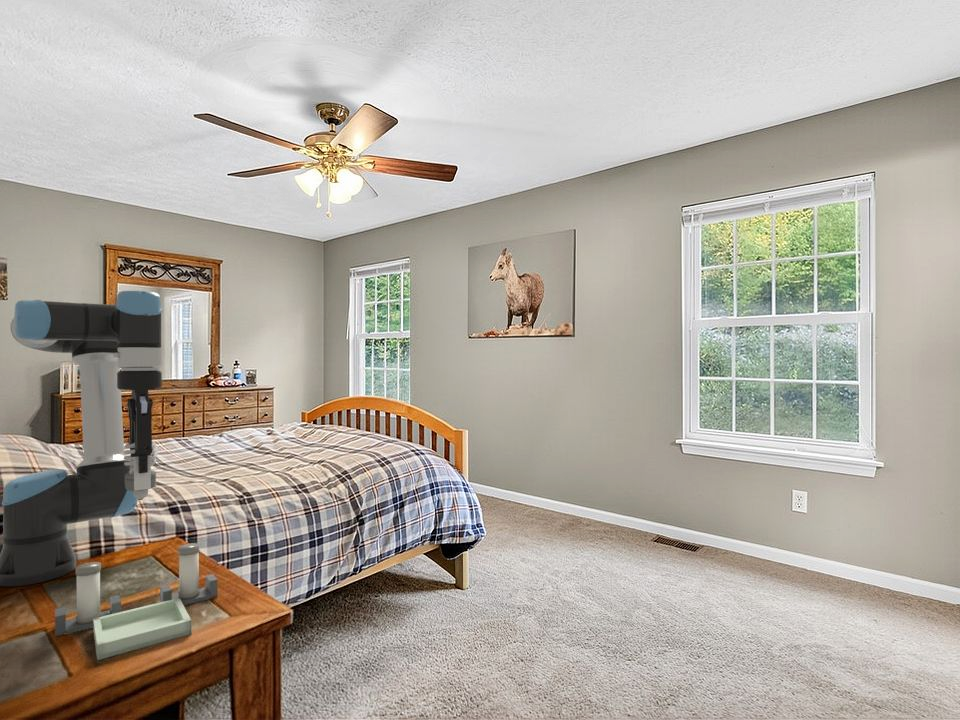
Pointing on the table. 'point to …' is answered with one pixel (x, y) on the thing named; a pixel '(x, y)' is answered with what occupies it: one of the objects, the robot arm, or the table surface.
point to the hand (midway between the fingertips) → (140, 486)
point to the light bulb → (130, 476)
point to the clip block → (115, 606)
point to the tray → (140, 627)
